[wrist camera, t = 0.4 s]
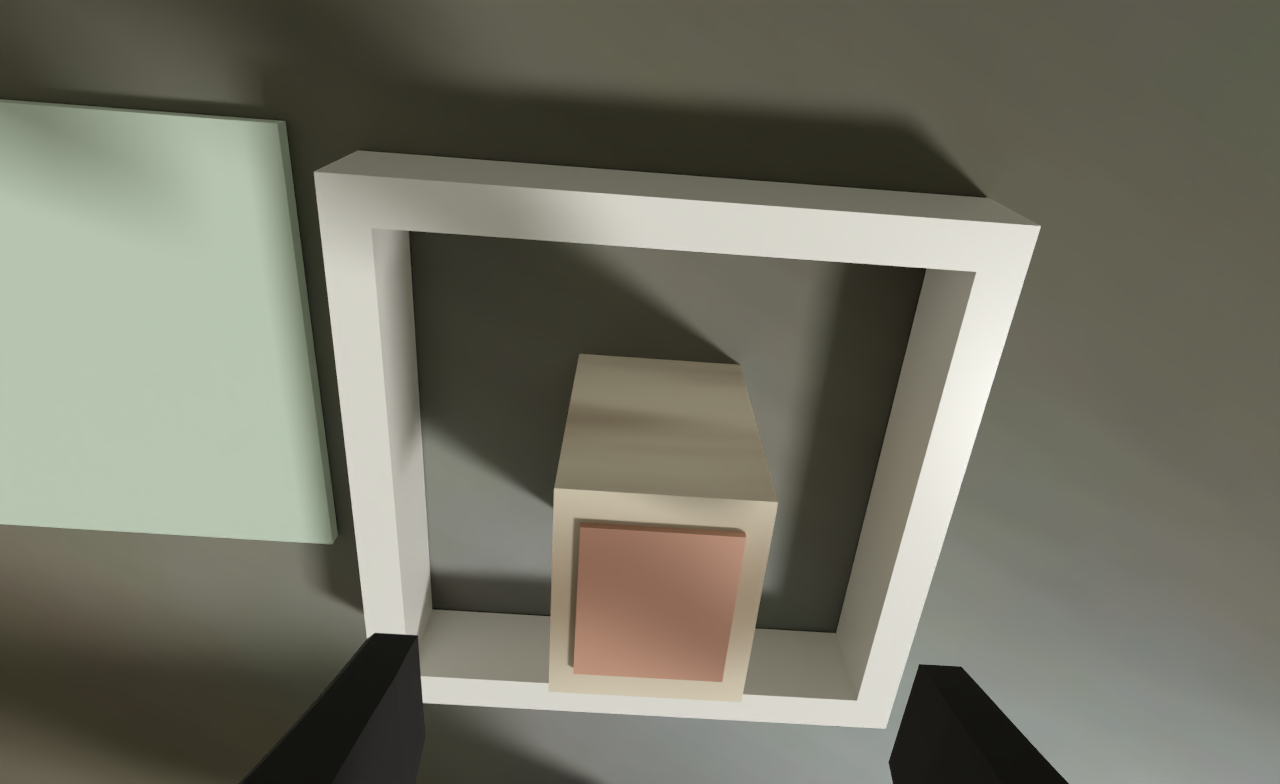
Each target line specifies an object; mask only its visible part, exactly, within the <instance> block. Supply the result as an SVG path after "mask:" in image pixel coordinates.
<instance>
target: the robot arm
mask: <svg viewBox="0 0 1280 784" xmlns="http://www.w3.org/2000/svg"><path fill="white" fill-rule="evenodd" d="M424 740H425V728H424V714H423V700H422V686H421V672H420V658H419V644H418V635H404V634H387V633H374V634H373V635H371V636H370V637H369V638H367V640H366V641H365V642H364V643H363V645H362V646H361V647H360V648H359V649H358V651H357V652H356V653H355V654H354V656H353V657H352V658H351V659H350V660H349V662H348V663H347V664H346V665H345V667H344V668H343V669H342V670H341V671H340V673H339V674H338V675H337V676H336V677H335V678H334V680H333V681H332V682H331V683H330V684H329V686H328V687H327V688H326V689H325V690H324V691H323V693H322V694H321V695H320V696H319V697H318V698H317V699H316V701H315V702H314V703H313V704H312V705H311V706H310V707H309V709H308V710H307V711H306V712H305V713H304V714H303V715H302V716H301V718H300V719H299V720H298V721H297V722H296V723H295V724H294V725H293V726H292V727H291V729H290V730H289V731H288V732H287V733H286V734H285V735H284V736H283V737H282V738H281V739H280V741H279V742H278V743H277V744H276V745H275V746H274V747H273V748H272V749H271V750H270V751H269V753H268V754H267V755H266V756H265V757H264V758H263V759H262V760H261V761H260V762H259V763H258V764H257V765H256V766H255V767H254V768H253V770H252V771H251V772H250V773H249V774H248V775H247V776H246V777H245V778H244V779H243V780H242V781H241V782H240V783H239V784H414V783H415V779H416V775H417V770H418V766H419V762H420V757H421V753H422V748H423V744H424ZM889 766H890V771H891V775H892V780H893V784H1069V783H1068V782H1067V781H1066V780H1065V779H1064V778H1063V777H1062V776H1061V775H1060V774H1059V773H1058V772H1057V771H1056V770H1055V769H1054V768H1053V767H1052V765H1051V764H1050V763H1049V762H1048V761H1047V760H1046V759H1045V758H1044V757H1043V756H1042V755H1041V754H1040V753H1039V751H1038V750H1037V749H1036V748H1035V747H1034V746H1033V745H1032V744H1031V743H1030V742H1029V741H1028V739H1027V738H1026V737H1025V736H1024V735H1023V734H1022V733H1021V732H1020V731H1019V730H1018V728H1017V727H1016V726H1015V725H1014V724H1013V723H1012V722H1011V721H1010V720H1009V719H1008V717H1007V716H1006V715H1005V714H1004V713H1003V712H1002V711H1001V710H1000V709H999V708H998V706H997V705H996V704H995V703H994V702H993V701H992V700H991V699H990V698H989V696H988V695H987V694H986V693H985V692H984V691H983V690H982V689H981V688H980V687H979V685H978V684H977V683H976V682H975V681H974V680H973V679H972V678H971V677H970V676H969V675H968V674H967V673H966V671H965V670H964V669H963V668H962V667H956V666H939V665H922V664H919V667H918V670H917V673H916V677H915V680H914V683H913V686H912V689H911V693H910V696H909V699H908V702H907V705H906V709H905V712H904V715H903V718H902V721H901V725H900V728H899V731H898V734H897V737H896V740H895V744H894V747H893V750H892V753H891V756H890V760H889Z"/></svg>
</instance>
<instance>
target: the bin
mask: <svg viewBox="0 0 1280 784" xmlns="http://www.w3.org/2000/svg"><path fill="white" fill-rule="evenodd" d="M314 180H315V189H316V198H317V206H318V215H319V224H320V233H321V241H322V250H323V259H324V267H325V276H326V285H327V294H328V302H329V311H330V320H331V329H332V337H333V346H334V355H335V363H336V372H337V381H338V390H339V398H340V407H341V416H342V425H343V433H344V442H345V451H346V459H347V468H348V477H349V486H350V494H351V503H352V512H353V520H354V529H355V538H356V547H357V555H358V564H359V573H360V582H361V590H362V599H363V608H364V616H365V625H366V634H367V638H369V637H370V636H371V635H373V634H374V633H387V634H404V635H418V644H419V658H420V672H421V686H422V700H423V703H433V704H451V705H469V706H487V707H505V708H523V709H541V710H559V711H577V712H595V713H613V714H631V715H649V716H667V717H685V718H703V719H721V720H739V721H757V722H775V723H793V724H811V725H829V726H847V727H865V728H883V729H886V726H887V723H888V719H889V716H890V713H891V710H892V706H893V703H894V700H895V697H896V693H897V690H898V687H899V684H900V680H901V677H902V674H903V671H904V668H905V664H906V661H907V658H908V655H909V651H910V648H911V645H912V642H913V638H914V635H915V632H916V629H917V625H918V622H919V619H920V616H921V613H922V609H923V606H924V603H925V600H926V596H927V593H928V590H929V587H930V583H931V580H932V577H933V574H934V570H935V567H936V564H937V561H938V558H939V554H940V551H941V548H942V545H943V541H944V538H945V535H946V532H947V528H948V525H949V522H950V519H951V515H952V512H953V509H954V506H955V503H956V499H957V496H958V493H959V490H960V486H961V483H962V480H963V477H964V473H965V470H966V467H967V464H968V460H969V457H970V454H971V451H972V448H973V444H974V441H975V438H976V435H977V431H978V428H979V425H980V422H981V418H982V415H983V412H984V409H985V405H986V402H987V399H988V396H989V393H990V389H991V386H992V383H993V380H994V376H995V373H996V370H997V367H998V363H999V360H1000V357H1001V354H1002V350H1003V347H1004V344H1005V341H1006V338H1007V334H1008V331H1009V328H1010V325H1011V321H1012V318H1013V315H1014V312H1015V308H1016V305H1017V302H1018V299H1019V295H1020V292H1021V289H1022V286H1023V283H1024V279H1025V276H1026V273H1027V270H1028V266H1029V263H1030V260H1031V257H1032V253H1033V250H1034V247H1035V244H1036V240H1037V237H1038V234H1039V231H1040V228H1041V226H1040V225H1038V224H1036V223H1034V222H1032V221H1031V220H1029V219H1027V218H1025V217H1023V216H1021V215H1019V214H1018V213H1016V212H1014V211H1012V210H1010V209H1008V208H1006V207H1005V206H1003V205H1001V204H999V203H997V202H995V201H993V200H992V199H990V198H981V197H968V196H955V195H941V194H928V193H915V192H902V191H889V190H875V189H862V188H849V187H836V186H822V185H809V184H796V183H783V182H769V181H756V180H743V179H730V178H716V177H703V176H690V175H677V174H664V173H650V172H637V171H624V170H611V169H597V168H584V167H571V166H558V165H544V164H531V163H518V162H505V161H492V160H478V159H465V158H452V157H439V156H425V155H412V154H399V153H386V152H372V151H359V150H358V151H356V152H354V153H351V154H349V155H347V156H345V157H343V158H341V159H339V160H337V161H335V162H333V163H331V164H329V165H327V166H324V167H322V168H320V169H318V170H316V171H314ZM409 231H420V232H434V233H448V234H462V235H475V236H489V237H503V238H517V239H530V240H544V241H558V242H572V243H585V244H599V245H613V246H627V247H640V248H654V249H668V250H682V251H695V252H709V253H723V254H736V255H750V256H764V257H778V258H791V259H805V260H819V261H833V262H846V263H860V264H874V265H888V266H901V267H915V268H927V269H926V273H925V277H924V281H923V285H922V289H921V293H920V297H919V301H918V305H917V309H916V313H915V317H914V321H913V325H912V329H911V333H910V337H909V341H908V345H907V349H906V353H905V357H904V361H903V365H902V369H901V373H900V377H899V381H898V385H897V389H896V394H895V398H894V402H893V406H892V410H891V414H890V418H889V422H888V426H887V430H886V434H885V438H884V442H883V446H882V450H881V454H880V458H879V462H878V466H877V470H876V474H875V478H874V482H873V486H872V490H871V494H870V498H869V502H868V506H867V510H866V514H865V519H864V523H863V527H862V531H861V535H860V539H859V543H858V547H857V551H856V555H855V559H854V563H853V567H852V571H851V575H850V579H849V583H848V587H847V591H846V595H845V599H844V603H843V607H842V611H841V615H840V619H839V623H838V627H837V631H836V633H824V632H807V631H790V630H773V629H756V628H755V631H754V637H753V642H752V648H751V653H750V659H749V664H748V669H747V675H746V680H745V686H744V691H743V697H742V702H726V701H708V700H690V699H672V698H654V697H635V696H617V695H599V694H581V693H563V692H548V690H549V653H550V617H551V616H536V615H519V614H502V613H485V612H468V611H451V610H434V609H432V595H431V579H430V563H429V547H428V531H427V515H426V499H425V483H424V467H423V451H422V435H421V419H420V403H419V387H418V371H417V355H416V339H415V323H414V307H413V291H412V275H411V259H410V243H409Z"/></svg>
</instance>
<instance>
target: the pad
mask: <svg viewBox="0 0 1280 784" xmlns="http://www.w3.org/2000/svg"><path fill="white" fill-rule="evenodd" d="M0 524H8V525H24V526H41V527H57V528H74V529H90V530H106V531H123V532H139V533H155V534H172V535H188V536H205V537H221V538H237V539H254V540H270V541H286V542H303V543H319V544H333V543H334V541H335V540H336V538H337V536H338V531H337V523H336V515H335V508H334V500H333V492H332V484H331V476H330V468H329V460H328V452H327V445H326V437H325V429H324V421H323V413H322V405H321V397H320V389H319V382H318V374H317V366H316V358H315V350H314V342H313V334H312V326H311V319H310V311H309V303H308V295H307V287H306V279H305V271H304V263H303V255H302V248H301V240H300V232H299V224H298V216H297V208H296V200H295V192H294V185H293V177H292V169H291V161H290V153H289V145H288V137H287V129H286V122H285V121H278V120H265V119H252V118H239V117H226V116H213V115H200V114H187V113H174V112H161V111H147V110H134V109H121V108H108V107H95V106H82V105H69V104H56V103H43V102H30V101H17V100H4V99H0Z"/></svg>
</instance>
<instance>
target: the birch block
mask: <svg viewBox="0 0 1280 784" xmlns="http://www.w3.org/2000/svg"><path fill="white" fill-rule="evenodd" d="M777 507H778V499H777V496H776V492H775V489H774V485H773V481H772V478H771V474H770V471H769V467H768V463H767V460H766V456H765V453H764V449H763V445H762V442H761V438H760V435H759V431H758V427H757V424H756V420H755V417H754V413H753V409H752V406H751V402H750V399H749V395H748V391H747V388H746V384H745V381H744V377H743V373H742V370H741V366H740V365H735V364H721V363H706V362H692V361H677V360H663V359H648V358H633V357H619V356H604V355H590V354H579V357H578V363H577V368H576V373H575V379H574V384H573V389H572V395H571V400H570V406H569V411H568V416H567V422H566V427H565V432H564V438H563V443H562V448H561V454H560V459H559V464H558V470H557V475H556V480H555V486H554V508H553V544H552V581H551V617H550V653H549V690H548V692H563V693H581V694H599V695H617V696H635V697H654V698H672V699H690V700H708V701H726V702H742V697H743V691H744V686H745V680H746V675H747V669H748V664H749V659H750V653H751V648H752V642H753V637H754V631H755V626H756V621H757V615H758V610H759V604H760V599H761V593H762V588H763V583H764V577H765V572H766V566H767V561H768V555H769V550H770V545H771V539H772V534H773V528H774V523H775V517H776V512H777Z"/></svg>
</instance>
